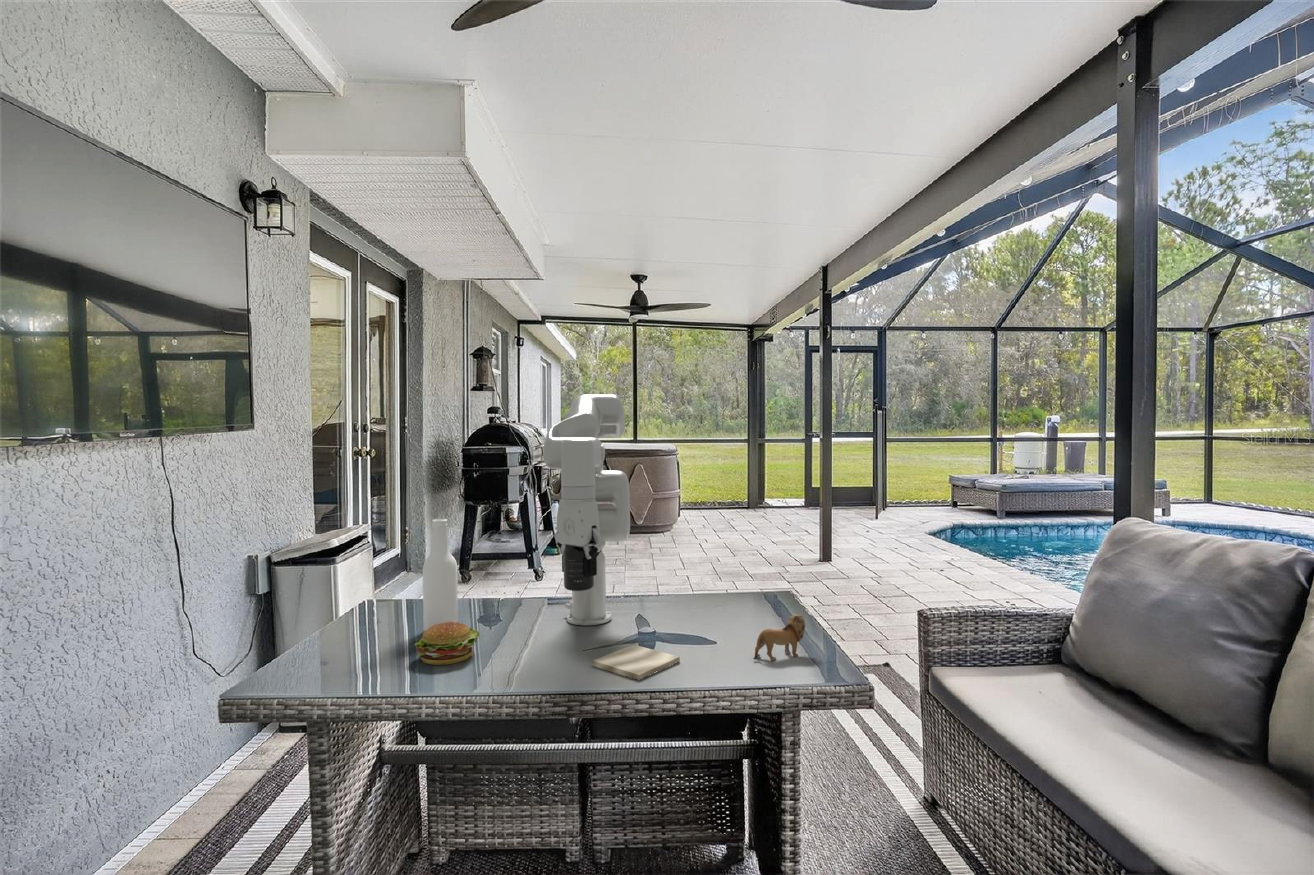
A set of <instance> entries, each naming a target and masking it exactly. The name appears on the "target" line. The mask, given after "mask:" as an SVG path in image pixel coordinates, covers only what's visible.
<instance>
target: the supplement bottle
mask: <svg viewBox="0 0 1314 875" xmlns="http://www.w3.org/2000/svg"><path fill="white" fill-rule="evenodd" d="M589 550H590V551H591V550H592V549H591V547H590V548H589ZM562 555H563V563H564V572H563V586H564V589H565V590H567V591H571V592H572V591H584V590H589V589H591V588H593V587H594V576H591V577H585V576H584V559H587V558H586V555H585V552H584V549H583V547H576V546H570V545H568V546H567V547H565V549H564V551H563V554H562Z"/></svg>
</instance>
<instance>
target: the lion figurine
mask: <svg viewBox="0 0 1314 875" xmlns="http://www.w3.org/2000/svg"><path fill="white" fill-rule="evenodd" d="M805 631H806V621H805V619H804V617H803V616H802V615H800V614H793V615H791V616H790V617H788V622H787V623H786V624H785V627H783V628H780V629H773V628H765V629H763V630H762V631H761V632H760V633H759V635H758V636H757V641H756V646H755V648H754V656H753V660H757V659H758V658H761V654H759V652H760V650H761V649H763V647H765V646H766V650H767V651H766V655H767V656H768V657H769V659H770V660H771V661H775V662H776V661H777V658H776V656H773V654H772V651H773V648H774V645H777V646H784V654H787V655H790V654H792V656H793V657H795V658H798V657H799V654H798V653H797V648H798V643H799V642H801V640H803V638H804V634H805ZM790 645H791V648H792V649H791V651H790Z"/></svg>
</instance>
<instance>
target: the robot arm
mask: <svg viewBox="0 0 1314 875" xmlns="http://www.w3.org/2000/svg"><path fill="white" fill-rule="evenodd" d="M625 417H626V416H625V407H624V402H623V401H622V399H621V398H620V397H619V396H618V395H616V394H605V393H604V394H596V393H595V394H592V393H591V394H582V395H581V394H580V395H578V396H576V397H574V399H573V400H572V401H571V404H570V405H569V411H568V412H567V413H565V415H564V419H562V421H560V422H556V424H553V425H552V426H551V427H550V428H549V429H548V431H547V433H546V436H545V441H544V445H543V447H542V448H543V452H542V457H543V462H544V465H546V467H547V468H549V469H551V470H560V473H561V474H560V475H561V476H560V481H561V482H560V484H561V489H560V492H561V493H560V494H561V498H560V499H559V502H558V505H557V506H558V507H557V516H556V532H555V533H554V535H553V537H554V539H555V541H556V543H557V546H558V548H559V553H560V555H561V571H562V573H564V563H563V551H564V549H565V547H567V546H568V545H570V546H576V547H583V549H584V552H585V555H586V558H587V559H584V576H585V577H591V576H594V587H593V588H591V589H589V590H584V591H571V599H570V600H568V602H567V603H565V605H564V608H565V609H567V610H569V614H567V615H566V621H567V623H569V624H572V625H575V626H597V625H602V624H605V623H609V622H610V621H611V620H612V613H611V612H610V611H607V602H606V601H607V600H606V599H607V598H606V597H607V590H606V584H607V583H606V556H605V553H604V551H603V550H602V549H603V548H604V547H605V545H606V542H621V541H622V542H623V541H625V540H627V539H628V538H629V536H630V532H631V508H630V507H631V505H630V503H631V502H630V497H631V496H630V482H629V478H628V475H627V474H626V473H625V472H624V471H622V470H615V469H614V470H604V461H605V459H606V449H605V448H606V447H605V445H604V444H603V443H602V441H601V440H600V439H616V438H620V437H622V436H623V434H624V431H625V428H626V426H625V424H626V422H625V421H626V420H625ZM598 504H609V505H610V504H611V505H612V506H613V507H599V506H598ZM590 547H591V549H592V550H591V551H590V550H589V548H590Z"/></svg>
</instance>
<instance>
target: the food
mask: <svg viewBox="0 0 1314 875" xmlns="http://www.w3.org/2000/svg"><path fill="white" fill-rule="evenodd" d="M479 636H480V632H479V631H478V630H476V629H473V628H471V627H469V626H467V624H465V623H463V622H459V621H458V622H444V623H440V624H436V625H433V626H431V627H430V628H428V629H427V630H426V631H424V632H423V633H422V637H421V638H419V640H418V641H417V642H415V643H414V646H416V649H417V651H416V654H417V656H419V657H420V659H421V661H422V662H423V663H424V664H428V665H433V666H445V665H451V664H457V663H460V662H464V661H466V660H468V659H469V658H470V657H472V655H473V653H474V651H473V647H474V646H475V645H476V643H477V640H478V639H479Z"/></svg>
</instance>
